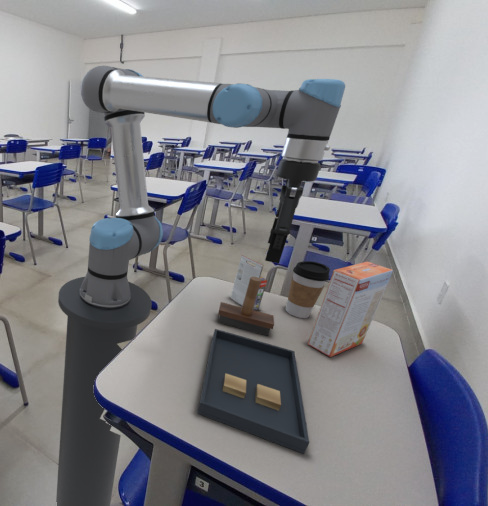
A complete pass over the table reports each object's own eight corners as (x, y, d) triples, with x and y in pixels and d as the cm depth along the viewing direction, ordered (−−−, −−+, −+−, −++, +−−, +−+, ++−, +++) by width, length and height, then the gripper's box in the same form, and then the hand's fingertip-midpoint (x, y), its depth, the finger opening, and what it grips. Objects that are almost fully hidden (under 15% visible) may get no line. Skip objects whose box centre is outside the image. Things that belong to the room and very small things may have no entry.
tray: (212, 337, 89) (214, 328, 88) (290, 360, 82) (294, 351, 81) (197, 413, 66) (200, 402, 65) (304, 454, 59) (309, 442, 58)
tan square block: (223, 378, 74) (225, 373, 73) (244, 385, 72) (246, 380, 72) (222, 391, 71) (223, 385, 70) (244, 398, 69) (245, 392, 68)
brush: (217, 314, 99) (228, 269, 94) (269, 328, 94) (284, 281, 89) (215, 322, 95) (227, 276, 90) (270, 337, 90) (285, 289, 85)
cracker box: (337, 331, 94) (366, 260, 86) (362, 344, 89) (396, 270, 81) (304, 343, 88) (333, 267, 80) (330, 358, 83) (362, 279, 75)
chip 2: (255, 389, 71) (257, 383, 71) (277, 396, 70) (279, 391, 69) (255, 402, 68) (257, 396, 68) (278, 410, 67) (281, 404, 66)
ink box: (238, 296, 110) (250, 253, 104) (259, 309, 103) (273, 264, 97) (229, 298, 108) (240, 254, 103) (250, 311, 101) (263, 265, 96)
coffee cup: (321, 319, 100) (339, 271, 94) (297, 322, 98) (314, 273, 92) (296, 303, 107) (312, 258, 101) (273, 306, 105) (288, 260, 99)
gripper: (327, 169, 63) (291, 275, 71) (317, 157, 83) (290, 240, 92) (279, 164, 67) (251, 265, 75) (281, 153, 87) (258, 234, 95)
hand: (272, 252), depth 83 cm, fingers open, 13 cm apart
